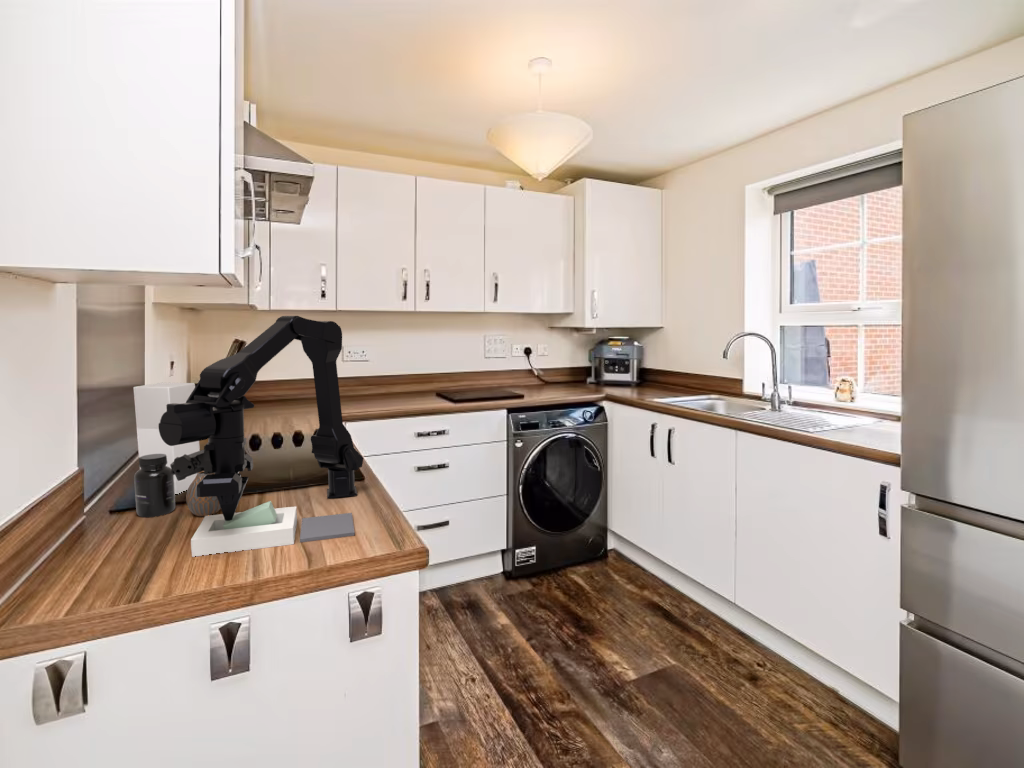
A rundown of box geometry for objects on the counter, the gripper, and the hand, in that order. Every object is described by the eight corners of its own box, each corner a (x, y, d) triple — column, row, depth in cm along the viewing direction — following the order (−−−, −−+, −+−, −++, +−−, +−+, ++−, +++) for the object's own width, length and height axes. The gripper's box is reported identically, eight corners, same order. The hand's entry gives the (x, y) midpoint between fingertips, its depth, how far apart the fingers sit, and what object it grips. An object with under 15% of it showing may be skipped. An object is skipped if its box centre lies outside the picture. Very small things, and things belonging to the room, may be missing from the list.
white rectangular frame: (206, 531, 102) (205, 515, 102) (297, 520, 107) (296, 506, 107) (192, 556, 91) (190, 539, 91) (293, 544, 96) (292, 528, 96)
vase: (191, 509, 114) (188, 469, 113) (227, 505, 116) (225, 466, 115) (184, 521, 108) (181, 478, 107) (222, 516, 110) (220, 474, 109)
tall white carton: (141, 494, 124) (132, 386, 121) (169, 482, 133) (161, 382, 130) (176, 495, 123) (168, 387, 120) (202, 484, 132) (195, 382, 129)
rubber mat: (302, 521, 107) (302, 518, 107) (351, 515, 110) (351, 512, 110) (299, 542, 97) (299, 539, 97) (354, 535, 100) (354, 532, 100)
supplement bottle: (131, 519, 108) (126, 461, 107) (144, 508, 115) (139, 453, 113) (169, 516, 110) (165, 459, 109) (180, 505, 117) (176, 451, 115)
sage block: (233, 532, 100) (226, 518, 99) (276, 514, 102) (270, 500, 102) (229, 540, 96) (223, 525, 96) (275, 521, 99) (269, 507, 98)
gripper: (188, 427, 102) (190, 507, 104) (158, 448, 85) (162, 544, 86) (252, 425, 106) (254, 502, 108) (237, 445, 88) (239, 537, 90)
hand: (228, 520), depth 98 cm, fingers closed, pressing on sage block
